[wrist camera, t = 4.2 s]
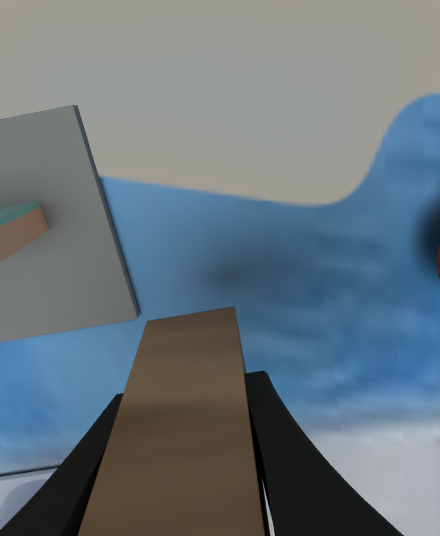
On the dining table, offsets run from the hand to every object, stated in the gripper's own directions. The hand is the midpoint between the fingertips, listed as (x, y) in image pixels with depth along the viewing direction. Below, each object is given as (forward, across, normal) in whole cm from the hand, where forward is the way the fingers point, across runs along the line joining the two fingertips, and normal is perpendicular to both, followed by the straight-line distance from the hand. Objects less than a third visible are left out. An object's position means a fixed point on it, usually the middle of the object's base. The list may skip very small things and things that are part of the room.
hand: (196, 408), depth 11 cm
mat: (+10, +11, -4) cm, 15 cm away
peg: (+3, 0, 0) cm, 3 cm away
